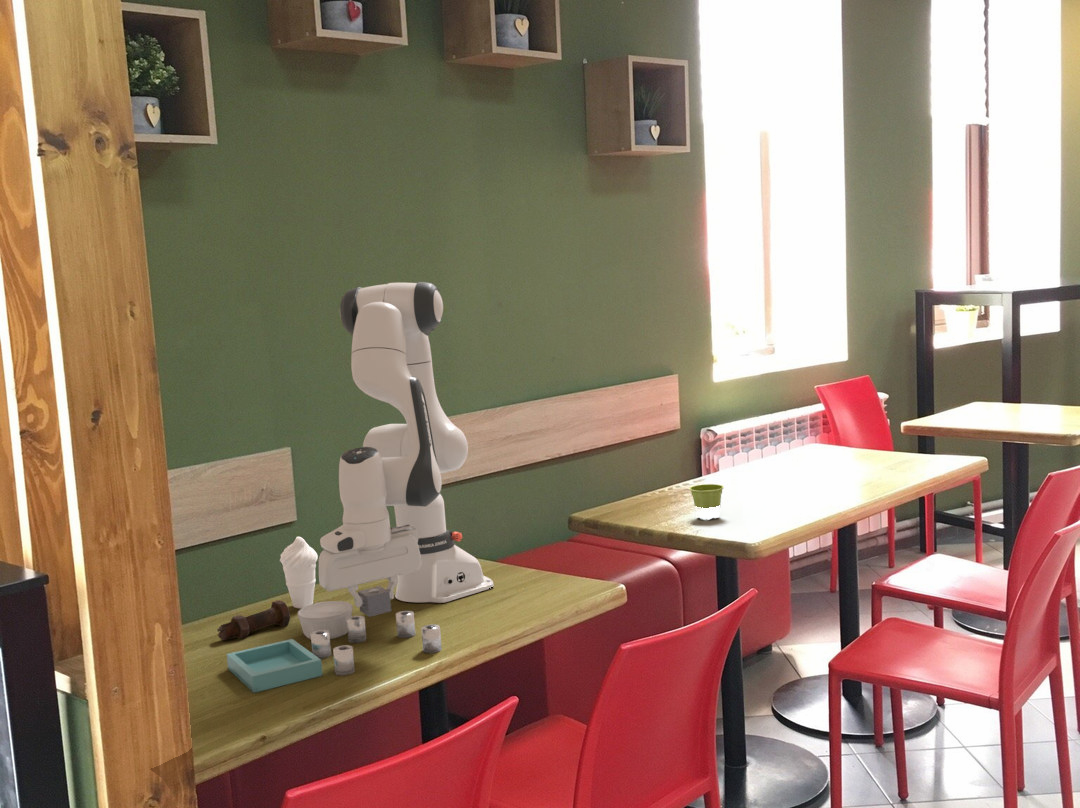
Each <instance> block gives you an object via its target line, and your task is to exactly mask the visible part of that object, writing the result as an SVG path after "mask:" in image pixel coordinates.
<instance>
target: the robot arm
mask: <svg viewBox="0 0 1080 808" xmlns="http://www.w3.org/2000/svg"><path fill="white" fill-rule="evenodd" d="M443 312H444V301H443V299H442V295H441V293H440V290H439V289H438V288H437V286H435V284H433V283H431V282H427V281H426V282H425V281H418V282H388V283H384V284H378V285H377V284H376V285H372V286H371V285H370V286H366V287H362V286H359V287H355V288H351V289H349V290H347V291H346V292H345V293H343V296H342V297H341V300H340V305H339V316H340V321H341V324H342V327H343V328H344V330H345V331H347V332H348V334H350V335H351V336H352V343H351V355H350V356H351V359H350V360H351V361H350V362H351V374H352V381H353V382H354V383H355V385H356V386H357V388H358V389H359V390H360V391H362V392H363V393H364V394H365V395H367V396H369V397H371V398H373V399H375V400H378V401H381V402H384V403H387V404H389V405H391V407H394V408H395V409H397V410H398V411H399V412H400V413H401V414H402V416H403V418H404V420H405V422H406V423H389V424H388V423H387V424H384V425H380V426H374V427H372V428H371V429H369V431H368V432H367V434H366V435H365V437H364V440H363V443H362V446H360V447H355V448H352V449H348V450H347V451H345V452H344V453H342V454H341V456H340V459H339V465H338V466H339V467H338V485H339V487H338V488H339V497H340V499H339V500H340V502H341V504H342V507H343V514H342V525H340V526H338V527H337V528H335V529H333V530H332V531H330V532H328V533H327V534H324V535H323V536H322V537H320V540H319V543H320V546H321V548H322V549H323V550H322V551H321V552H320V554H319V556H318V582H319V585H320V587H322V588H323V589H324V590H326V591H328V592H334V591H337V590H342V589H346V588H347V591H348V592H349V593H350V594H351V596H352V597H353V598H354V599H353V600H354V605H355V608H360V607H361V606H365V597H363V596H361V595H360V596H359V595H358V591H359V585H363V584H368V583H371V582H375V581H380V580H383V579H386V580H387V581H388V583H387V587H386V588H385V589H386V590H388V591H389V592H390V600H393V599H397V600H399V601H402V602H408V603H438V604H441V603H443V604H444V603H448V602H451V601H454V600H457V599H460V598H464V597H467V596H471V595H474V594H476V593H481V592H482V591H487V590H490V589H492V588H491V587H493V586H495V585H494V581H493V580H492V579H491V578H490V577H489V576H485V575H484V574H483V570H482V566H481V564H480V562H479V560H478V559H477V558H476V557H475V556H473V555H472V554H470V553H468V552H467V551H465V549H462V548H460V547H459V546H458V545H456V544H455V542H461V541H462V539H463V536H464V535H463V534H462V532H459V531H452V530H449V529H447V522H446V510H445V501H444V498H443V495H442V494H441V491H442V485H443V483H442V482H443V481H442V475H441V474H444V473H450V472H454V471H457V470H459V469H461V467H462V466H463V465H464V463H466V461H467V457H468V453H469V444H468V440H467V438H466V434H464V432H463V430H461V429H460V428H459V427H457V426H456V425H455V424H454V423H453V422H451V419H449V417H448V416H447V414H446V413H445V412H444V410H443V408H442V406H441V403H440V400H439V398H438V395H437V391H436V384H435V377H434V369H433V360H432V350H431V343H430V339H429V336H430V335H431V333H432V332H433V331H434V330H435V329H436V328H437V327H438V326H439V325H440V323H441V322H442V318H443V317H442V316H443ZM390 506H391V507H392V506H393V508H394V509H393V510H394V516H395V523H396V526H394V527H391V524H390V523H391V521H390V520H391V519H390V514H389V511H388V509H387V507H390ZM395 588H396V590H395ZM489 588H490V589H489ZM493 588H494V587H493ZM394 591H395V594H394Z"/></svg>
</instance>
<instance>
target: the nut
mask: <svg viewBox="0 0 1080 808" xmlns="http://www.w3.org/2000/svg"><path fill="white" fill-rule="evenodd" d="M386 589H387V588H384V587H382V586H381V585H378V586H374V587H370V588H366V589H362V590H357V594H358V595H359V596H360V595H361V596H363V597H365V606H361V607H359V612H361V613H362V614H364V615H366V616H367V617H369V618H370V617H374V616H377V615H378V616H379V615H381V614H386V613H390V612H392V603H391V599H390V592H389V591H388V590H386Z"/></svg>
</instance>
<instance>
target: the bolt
mask: <svg viewBox="0 0 1080 808" xmlns="http://www.w3.org/2000/svg"><path fill="white" fill-rule="evenodd" d="M290 621H291V614H290V609H289V606H288V605H287V604H286V602H285V601H284V600H278V599H277V600H273V601H272V602H271V607H270V608H268V609H266V610H263V611H259V612H257V613H253V614H250V615H247V616H244V615H240V614H238V615H234V616H233V617H232V618H231V620H230V622H225V623H223V624H221V625H220V626H219V627H218V628H217V629H216V630H217V632H218V634H217V637H218V638H219V639H220V640H223V641H227V640H229V639H233V638H236V639H237V638H238V639H244V638H246V637H248V636H249V634H250V632H253V631H256V630H259V629H263V628H265V627H268V626H271V625H275V624H276V625H278V626H281V627H284V626H287V625H289V624H290Z"/></svg>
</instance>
